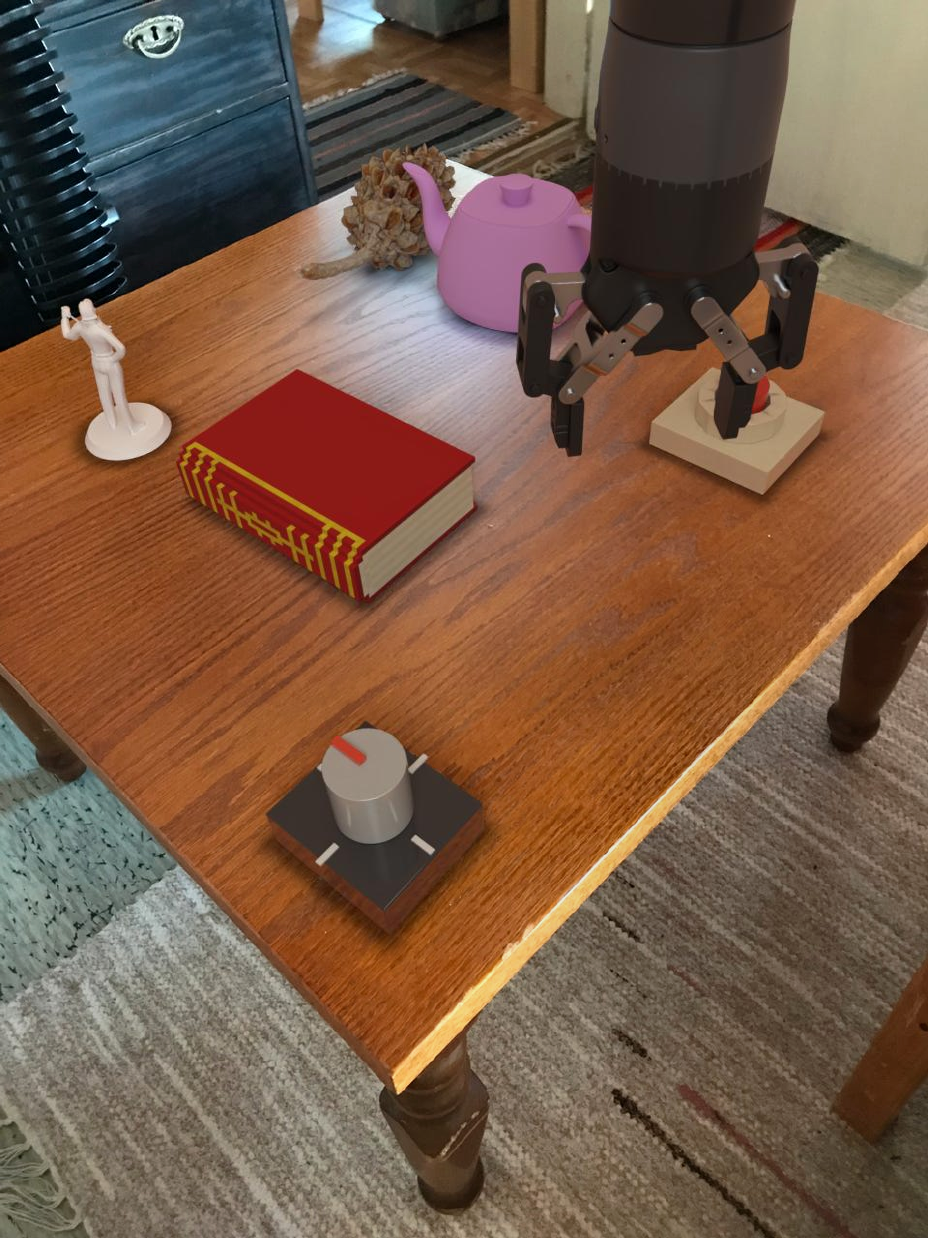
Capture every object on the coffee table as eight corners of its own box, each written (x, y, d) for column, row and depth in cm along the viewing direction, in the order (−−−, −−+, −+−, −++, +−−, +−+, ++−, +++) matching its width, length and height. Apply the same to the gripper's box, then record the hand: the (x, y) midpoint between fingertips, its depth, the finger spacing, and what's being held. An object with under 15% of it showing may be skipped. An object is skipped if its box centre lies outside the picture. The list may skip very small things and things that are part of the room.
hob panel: (488, 826, 56) (487, 798, 54) (386, 940, 52) (379, 914, 50) (374, 744, 60) (368, 714, 58) (271, 843, 56) (260, 816, 54)
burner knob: (430, 802, 54) (424, 754, 50) (375, 859, 52) (364, 813, 48) (372, 760, 56) (362, 710, 52) (317, 813, 54) (302, 766, 50)
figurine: (188, 417, 83) (147, 287, 74) (136, 468, 78) (86, 338, 69) (120, 398, 85) (72, 270, 76) (66, 447, 81) (8, 318, 72)
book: (189, 502, 76) (172, 452, 72) (307, 419, 82) (297, 368, 78) (361, 610, 67) (351, 559, 64) (477, 508, 74) (475, 456, 70)
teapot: (631, 288, 93) (643, 163, 84) (577, 364, 85) (584, 235, 76) (443, 247, 99) (436, 127, 90) (378, 315, 92) (362, 190, 83)
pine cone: (397, 213, 104) (388, 116, 97) (478, 231, 101) (474, 131, 94) (278, 319, 92) (256, 216, 84) (365, 343, 89) (350, 238, 81)
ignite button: (774, 398, 75) (779, 379, 74) (750, 422, 73) (755, 402, 72) (732, 381, 77) (736, 362, 75) (708, 404, 75) (711, 385, 74)
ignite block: (819, 434, 78) (831, 392, 75) (762, 495, 73) (772, 453, 70) (708, 388, 82) (715, 347, 79) (648, 443, 78) (653, 402, 75)
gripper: (533, 192, 39) (531, 499, 51) (884, 156, 39) (799, 468, 52) (505, 114, 44) (509, 411, 56) (817, 83, 44) (754, 383, 57)
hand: (648, 438), depth 54 cm, fingers open, 8 cm apart
